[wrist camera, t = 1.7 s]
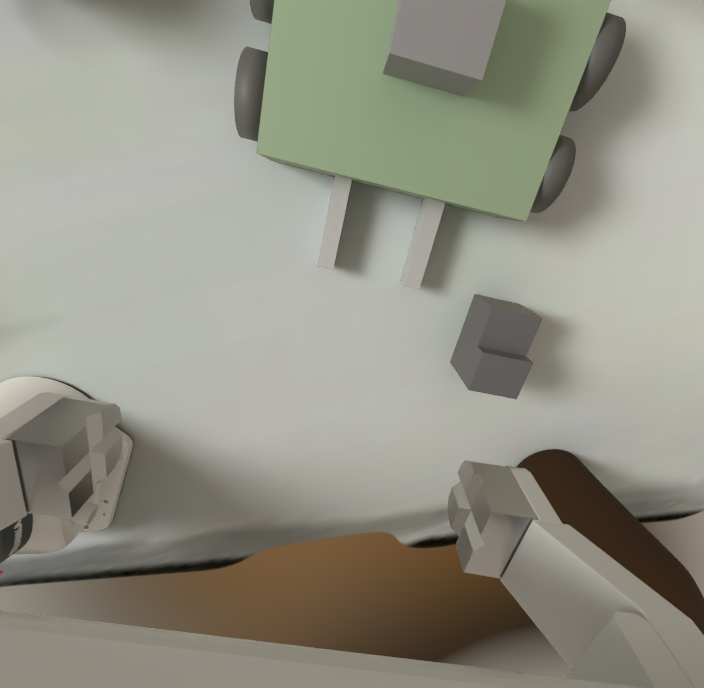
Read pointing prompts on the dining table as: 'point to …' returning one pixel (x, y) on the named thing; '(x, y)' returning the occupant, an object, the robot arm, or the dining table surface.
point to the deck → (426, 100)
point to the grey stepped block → (495, 346)
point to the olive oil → (613, 529)
